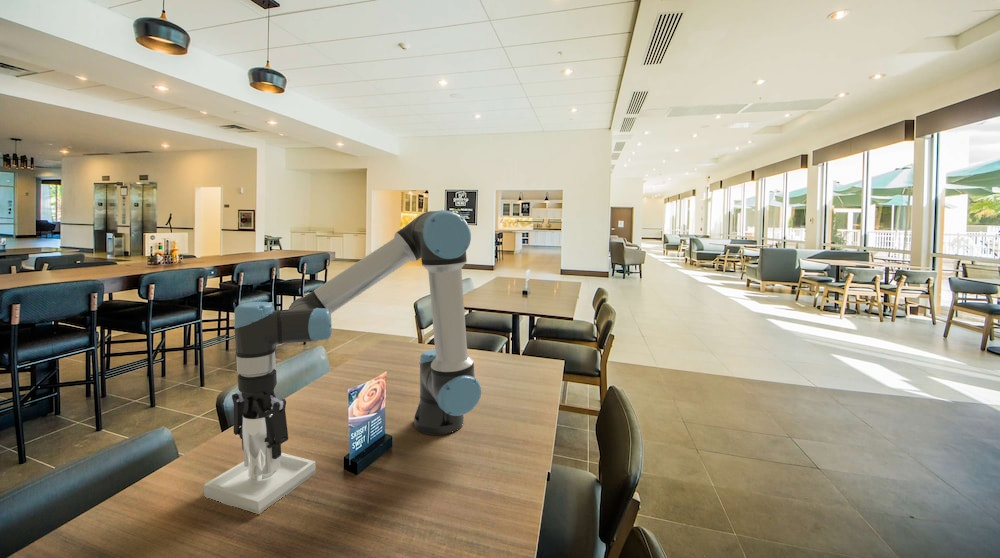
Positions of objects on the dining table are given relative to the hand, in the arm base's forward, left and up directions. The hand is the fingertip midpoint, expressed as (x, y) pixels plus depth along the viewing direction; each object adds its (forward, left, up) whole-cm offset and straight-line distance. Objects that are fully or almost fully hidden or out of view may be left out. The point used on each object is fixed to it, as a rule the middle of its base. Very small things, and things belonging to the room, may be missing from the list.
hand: (262, 466), depth 96 cm
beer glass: (0, 0, -2) cm, 2 cm away
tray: (0, 0, -4) cm, 4 cm away
